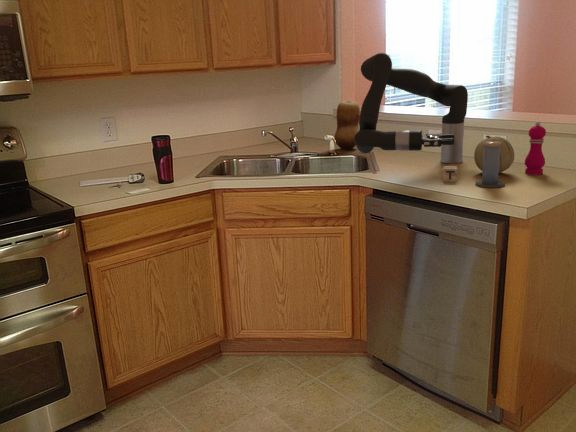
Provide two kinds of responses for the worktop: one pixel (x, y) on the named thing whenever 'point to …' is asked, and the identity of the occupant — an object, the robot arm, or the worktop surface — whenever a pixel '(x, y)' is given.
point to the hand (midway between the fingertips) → (454, 139)
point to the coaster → (499, 185)
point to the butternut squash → (347, 124)
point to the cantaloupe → (505, 153)
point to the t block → (450, 173)
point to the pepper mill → (535, 151)
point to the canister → (491, 163)
